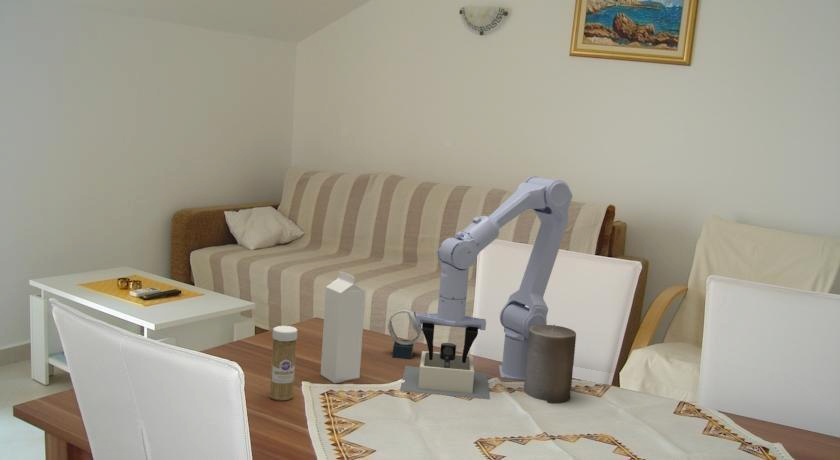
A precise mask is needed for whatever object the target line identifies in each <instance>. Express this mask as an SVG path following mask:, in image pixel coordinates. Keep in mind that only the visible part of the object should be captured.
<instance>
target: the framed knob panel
mask: <svg viewBox="0 0 840 460" xmlns="http://www.w3.org/2000/svg"><path fill="white" fill-rule="evenodd" d="M462 355H463V353H461V354H460V353H456V355H455V360H450V368H444V360H443V359H441V358H440V351H439V352H438V351H433V360H429V350H428V351H425V350H421V358H420V364H419V367H420V371H419V383H418V388H421V389H432V390H443V391H454V392H465V393H472V391H473V380H474V372H475V365H474V356H473V355H471V354H468V355H467V358H466V363H462Z"/></svg>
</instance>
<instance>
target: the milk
mask: <svg viewBox="0 0 840 460" xmlns="http://www.w3.org/2000/svg"><path fill="white" fill-rule="evenodd" d="M324 299H325V301H324V311H323V312H324V315H323V329H322V332H323V333H322V343H321V344H322V345H321V347H322V348H321V359H320V360H321V362H320V376H322V377H324V378H325V379H327V380H329V381H330V382H331V383H333V384H339V383H345V382H346V381H348V380H355V379H360V378H361V377H360V375H361V372H360V371H361V362H362V347H363V335H364V334H363V333H364V330H363V329H364V320H365V319H364V317H365V304H366V303H365V300H366V290H364V289H363V288H362V287H360V286H359V285H357V284H355V276H354V275H352V274H349V273H346V272H345V271H342V270H339V272H338V277H337V278H336V279H334V280H333V281H332V282H331V283H329V284H328V285H326V287H325V297H324Z"/></svg>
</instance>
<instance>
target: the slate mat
mask: <svg viewBox="0 0 840 460" xmlns="http://www.w3.org/2000/svg"><path fill="white" fill-rule="evenodd" d="M419 371H420V366H411V365H405V366H404V370H403V374H402V375H403V376H402V380H405V382H404V383H402V382H401V385H400V389H399V392H405V393H416V394H418V393H419V394H428V395H437V396H438V395H439V396H447V397H448V396H450V397H459V398H470V399H481V400H483V399H484V400H491V395H490V387H489V381H488V374H487V372H477V371H476V372H475V371H474V380H473V391H472V393H465V392H454V391H443V390H432V389H421V388H418V383H419ZM402 380H401V381H402Z"/></svg>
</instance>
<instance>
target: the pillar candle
mask: <svg viewBox="0 0 840 460" xmlns="http://www.w3.org/2000/svg"><path fill="white" fill-rule="evenodd" d="M576 340H577V333H576V331H574V330H573V329H570V328H568V327H565V326H561V325H555V324H547V325H534V326H531V327H530V328H529V338H528V350H527V361H526V372H525V380H524V387H523V392H524V393H525V394H526V395H528V396H529V397H532V398H534V399H537V400H540V401H541V400H542V401H546V402H547V403H562V402H567V401H569V400H570V399H571V391H572V389H571V388H572V383H573V371H574V362H575V351H576V342H577V341H576Z"/></svg>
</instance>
